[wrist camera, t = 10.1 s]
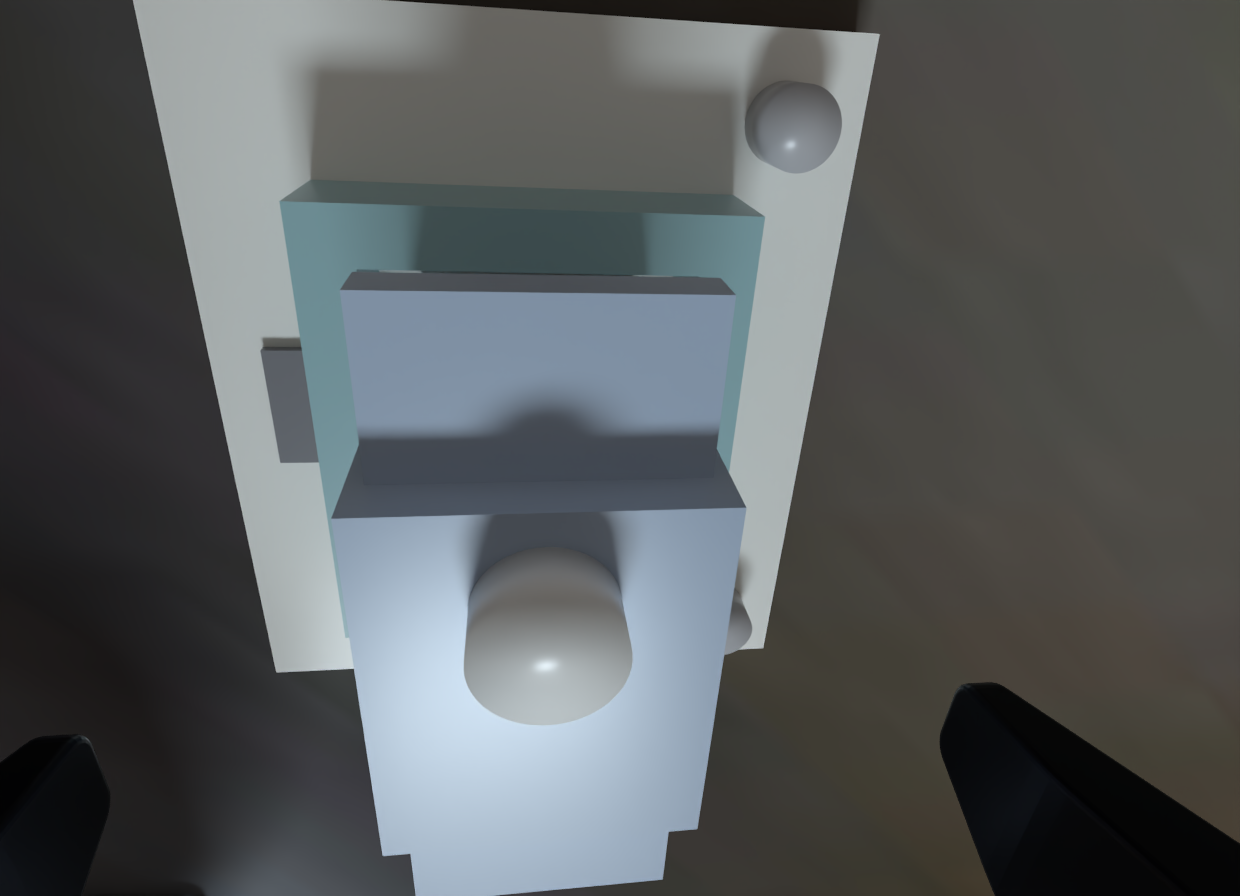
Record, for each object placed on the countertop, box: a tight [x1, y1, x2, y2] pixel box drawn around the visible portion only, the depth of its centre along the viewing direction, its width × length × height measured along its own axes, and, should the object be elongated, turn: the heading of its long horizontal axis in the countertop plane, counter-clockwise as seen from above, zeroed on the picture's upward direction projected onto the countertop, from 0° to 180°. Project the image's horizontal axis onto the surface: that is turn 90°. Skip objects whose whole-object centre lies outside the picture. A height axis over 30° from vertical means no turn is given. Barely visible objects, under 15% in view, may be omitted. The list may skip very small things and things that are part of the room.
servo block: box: [331, 272, 746, 896], centre depth 12 cm, size 9×4×9 cm, turn 177°
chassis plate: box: [133, 0, 880, 672], centre depth 15 cm, size 14×12×3 cm
